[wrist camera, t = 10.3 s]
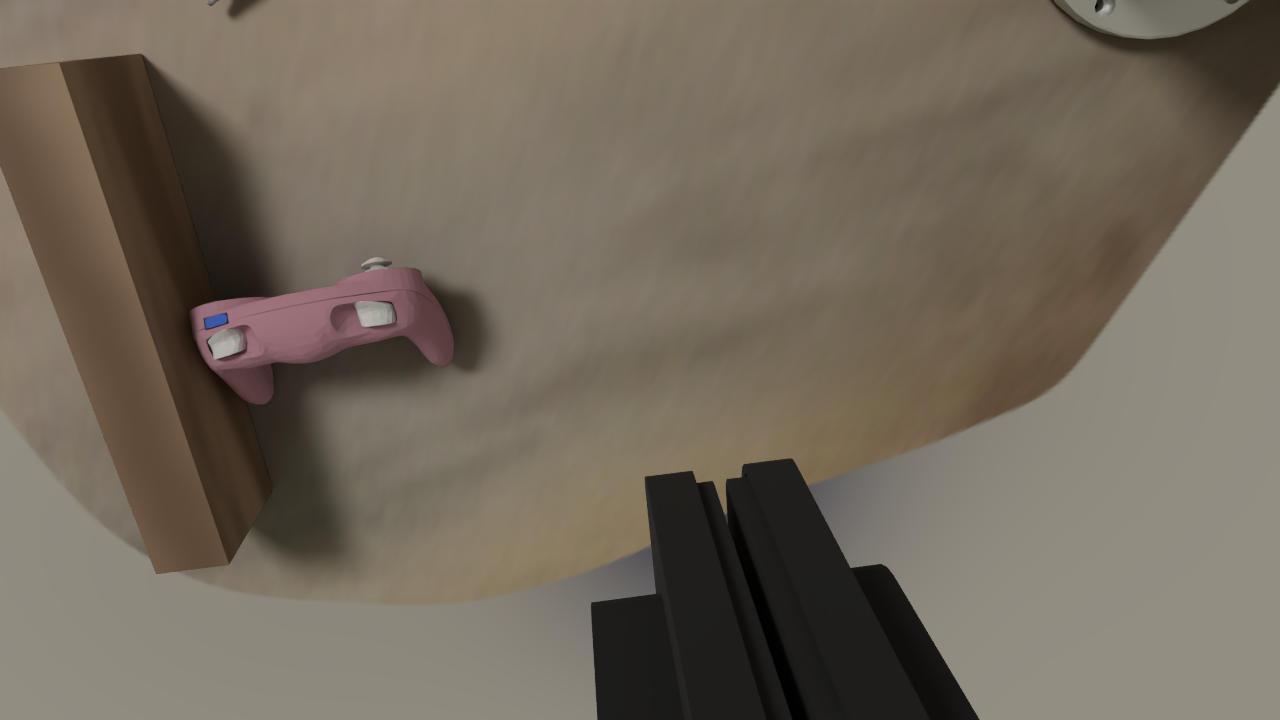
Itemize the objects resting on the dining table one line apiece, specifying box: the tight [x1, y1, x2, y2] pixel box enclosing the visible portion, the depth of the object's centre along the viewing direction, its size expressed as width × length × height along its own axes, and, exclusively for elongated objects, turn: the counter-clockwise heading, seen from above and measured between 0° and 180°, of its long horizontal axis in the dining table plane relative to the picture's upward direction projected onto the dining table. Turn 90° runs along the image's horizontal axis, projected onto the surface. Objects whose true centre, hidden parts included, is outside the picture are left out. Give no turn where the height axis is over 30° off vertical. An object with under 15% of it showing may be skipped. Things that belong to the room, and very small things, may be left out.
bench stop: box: [0, 54, 273, 574], centre depth 34 cm, size 3×20×6 cm, turn 5°
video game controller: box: [189, 257, 454, 405], centre depth 36 cm, size 10×5×7 cm, turn 101°
